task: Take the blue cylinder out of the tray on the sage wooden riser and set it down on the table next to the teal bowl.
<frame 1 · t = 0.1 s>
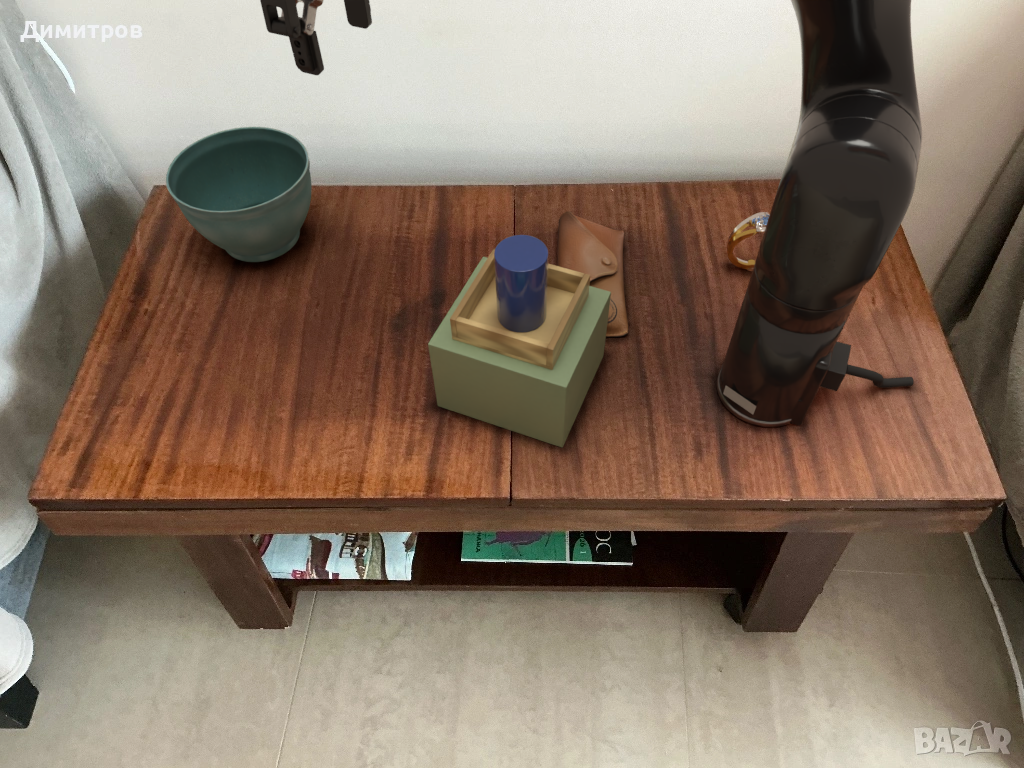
hand: (337, 47, 70), 29 cm above the table, tool pointing down, fingers open, 8 cm apart
blue cylinder: (521, 314, 75), point 10 cm above the table, touching tray
sunglasses case: (591, 282, 93), on the table
tray: (521, 317, 75), resting on riser
teal bowl: (263, 239, 98), on the table
ring: (749, 269, 93), on the table
riser: (522, 380, 83), on the table
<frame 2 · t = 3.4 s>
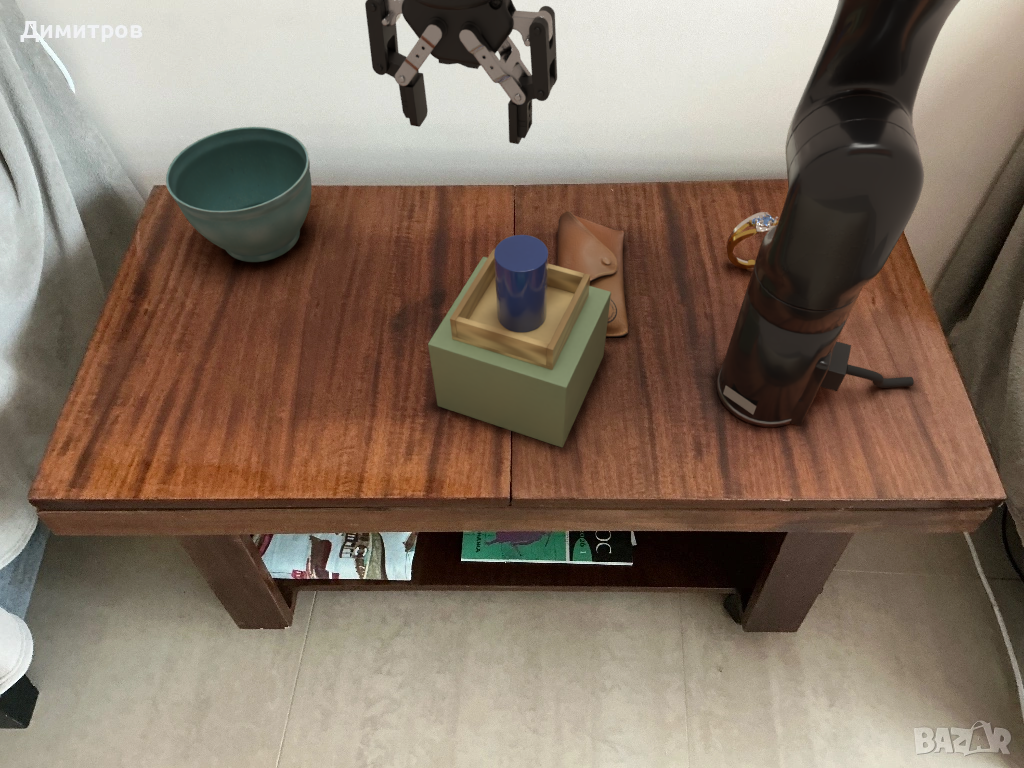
hand: (468, 129, 64), 28 cm above the table, tool pointing down, fingers open, 8 cm apart
nothing on the table moved.
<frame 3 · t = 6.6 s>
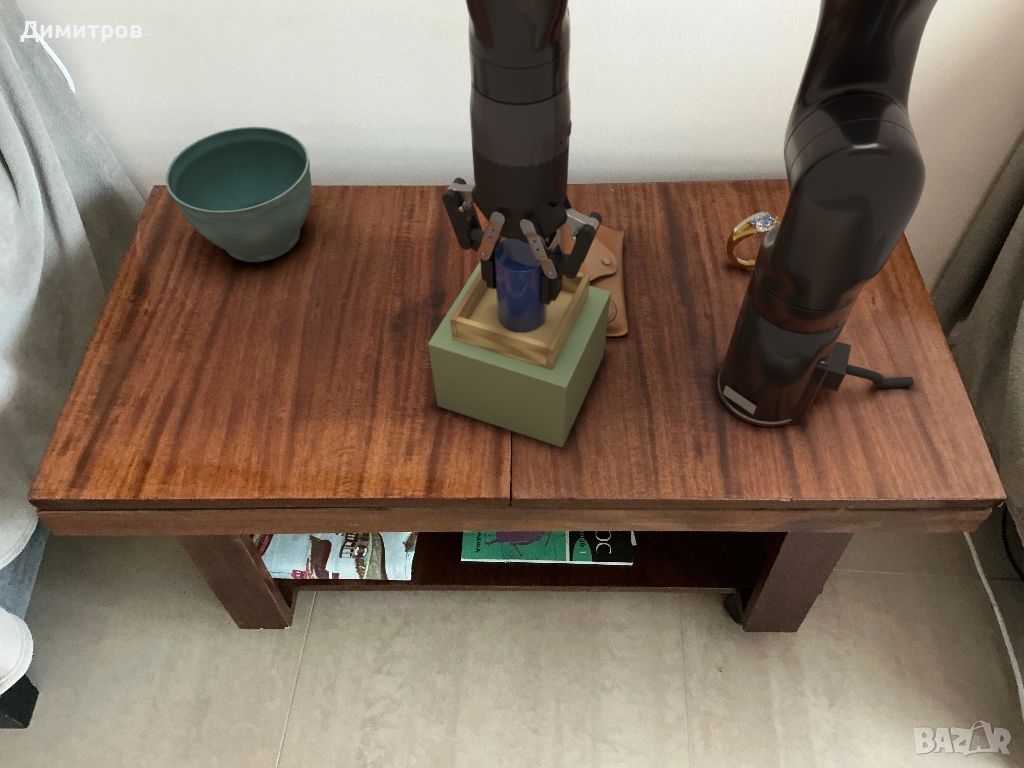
hand: (521, 289, 72), 14 cm above the table, tool pointing down, fingers closed on blue cylinder, 4 cm apart
blue cylinder: (521, 314, 75), point 10 cm above the table, touching tray, gripper
everything else where it was.
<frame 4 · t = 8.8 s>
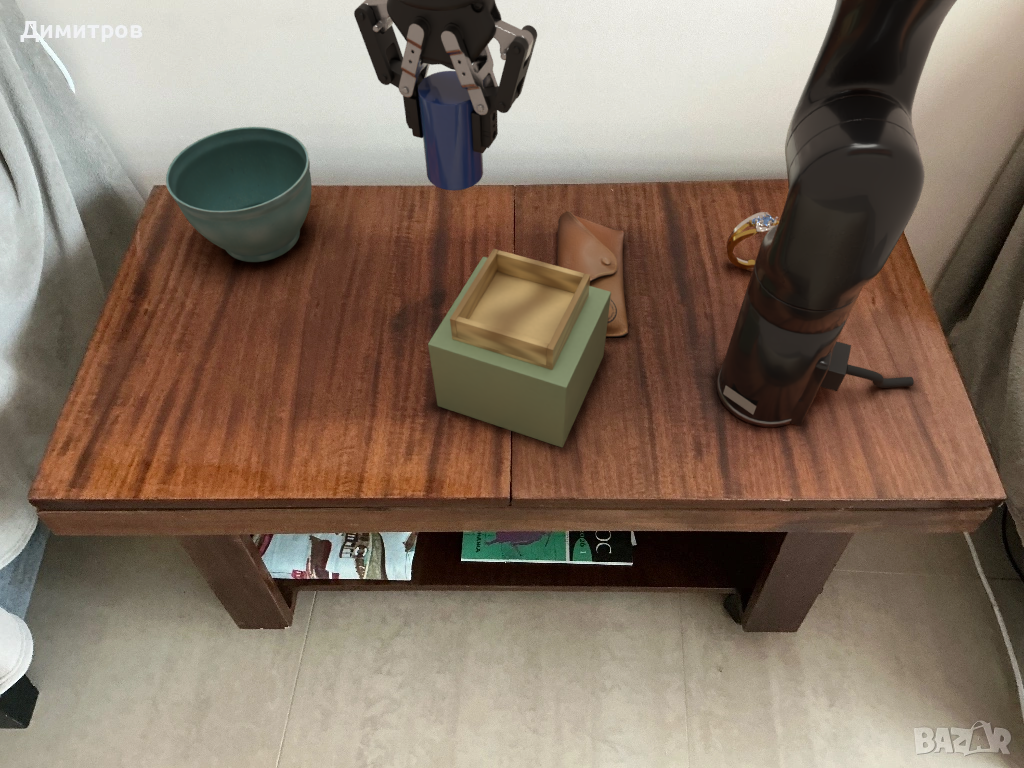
hand: (452, 138, 64), 28 cm above the table, tool pointing down, fingers closed on blue cylinder, 4 cm apart
blue cylinder: (455, 172, 66), point 24 cm above the table, touching gripper
everything else where it was.
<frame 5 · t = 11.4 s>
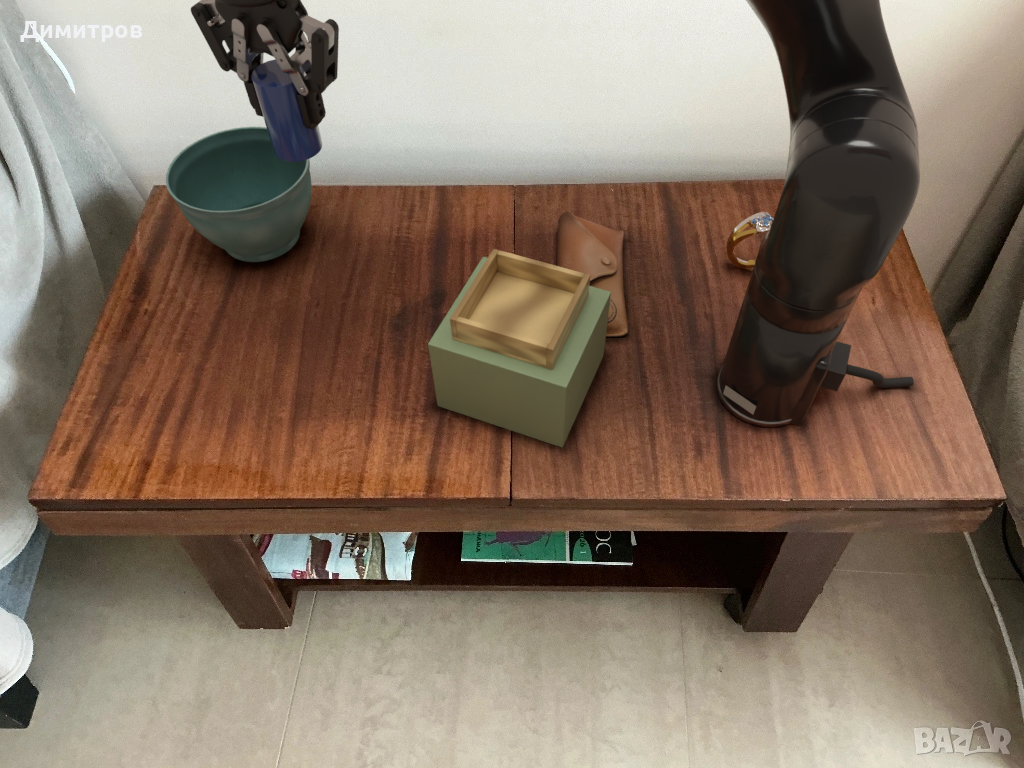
hand: (290, 117, 74), 23 cm above the table, tool pointing down, fingers closed on blue cylinder, 4 cm apart
blue cylinder: (298, 147, 77), point 19 cm above the table, touching gripper
everything else where it was.
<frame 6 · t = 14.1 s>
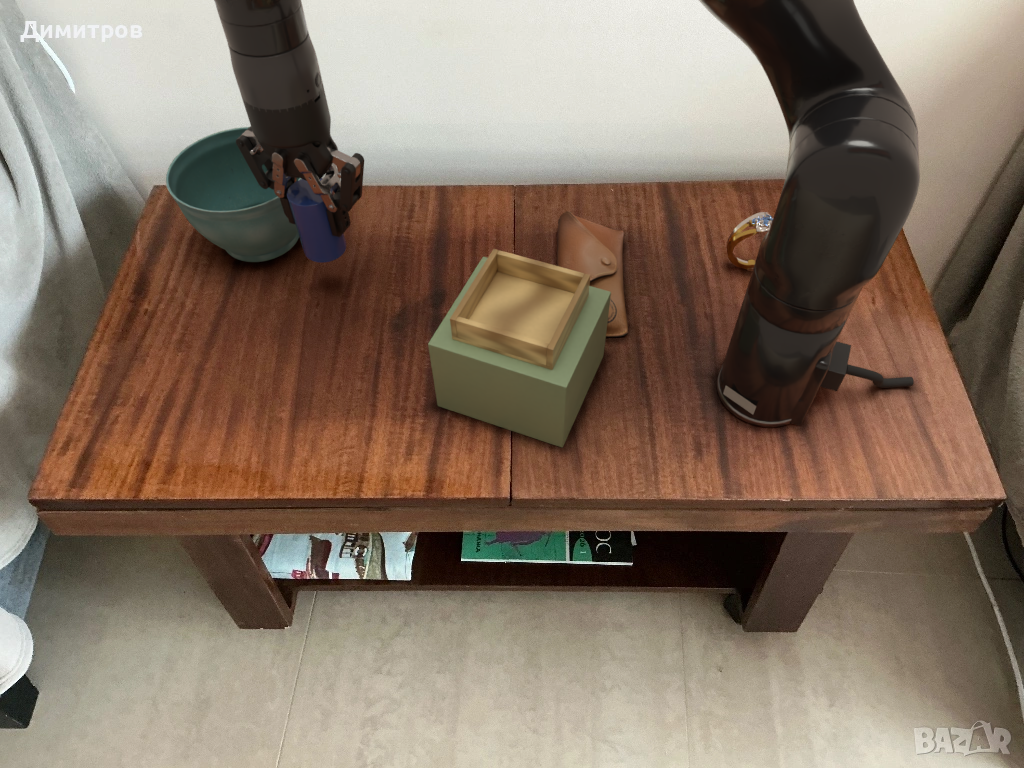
hand: (319, 225, 85), 9 cm above the table, tool pointing down, fingers closed on blue cylinder, 4 cm apart
blue cylinder: (325, 248, 88), point 6 cm above the table, touching gripper
everything else where it was.
when the fingers open (3 cm above the table, at t = 16.4 s): blue cylinder stays where it is, on the table.
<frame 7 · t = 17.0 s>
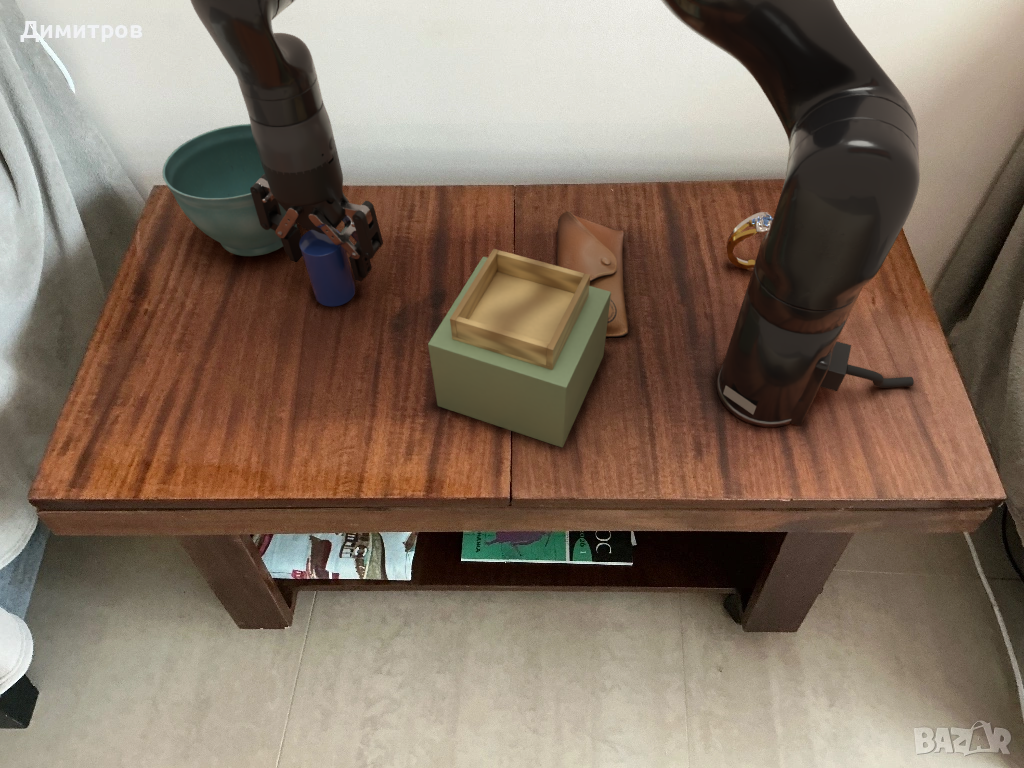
hand: (330, 266, 90), 3 cm above the table, tool pointing down, fingers open, 8 cm apart
blue cylinder: (335, 292, 92), on the table
teal bowl: (260, 235, 98), on the table, touching hand
everything else where it was.
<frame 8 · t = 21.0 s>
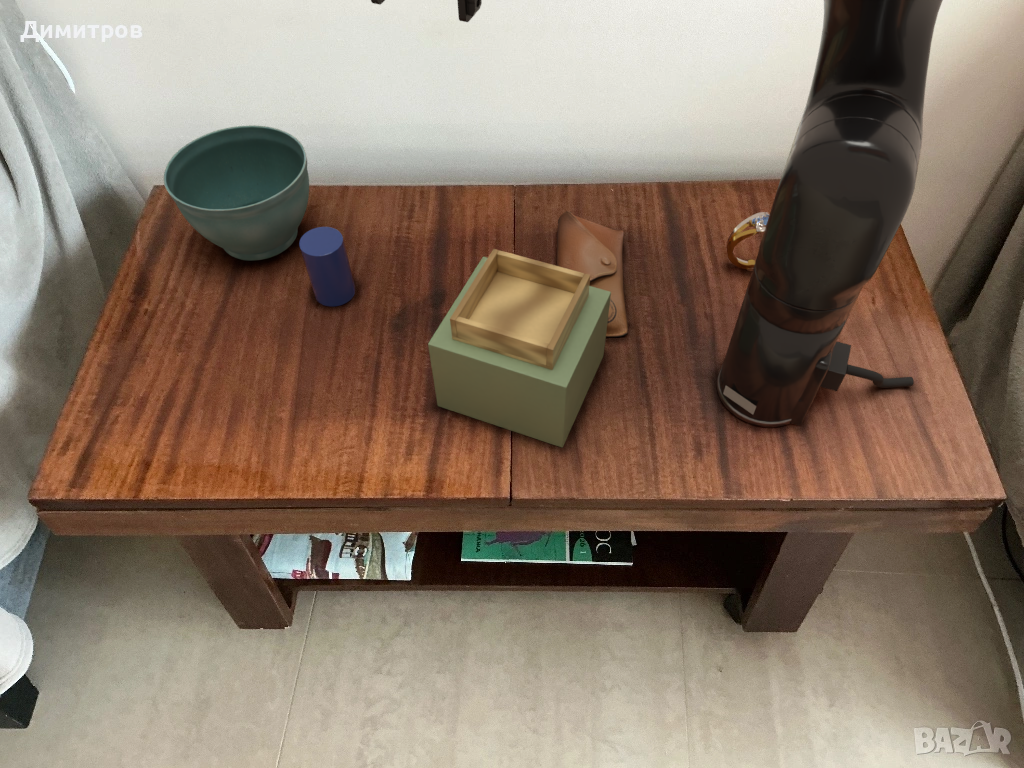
hand: (424, 8, 68), 32 cm above the table, tool pointing down, fingers open, 8 cm apart
teal bowl: (261, 237, 98), on the table
everything else where it was.
at the end: blue cylinder inside the target area (1.0 cm from its centre), on the table; blue cylinder 14.7 cm from the teal bowl (horizontally); the gripper is holding nothing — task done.
